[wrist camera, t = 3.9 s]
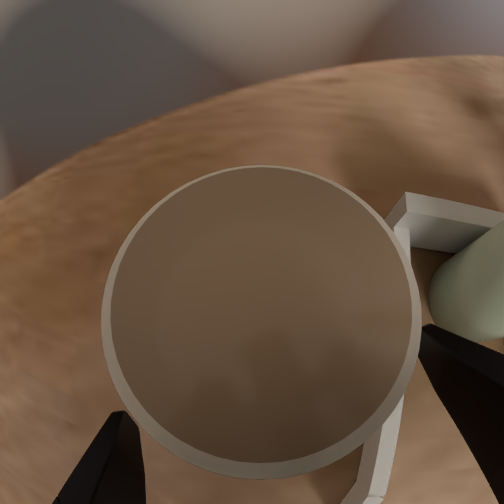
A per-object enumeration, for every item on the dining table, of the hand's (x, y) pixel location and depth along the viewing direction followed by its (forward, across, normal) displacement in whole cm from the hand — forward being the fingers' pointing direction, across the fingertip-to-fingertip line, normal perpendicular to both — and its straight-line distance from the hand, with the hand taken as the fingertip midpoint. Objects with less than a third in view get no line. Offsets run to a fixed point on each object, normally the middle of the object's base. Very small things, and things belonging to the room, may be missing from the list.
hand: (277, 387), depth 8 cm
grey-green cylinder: (+7, -14, +7) cm, 16 cm away
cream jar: (+8, 0, +6) cm, 9 cm away
